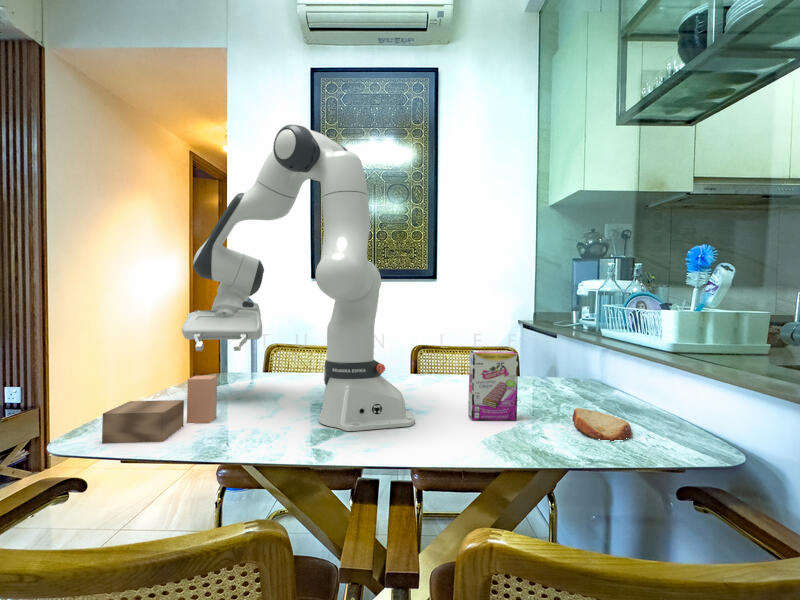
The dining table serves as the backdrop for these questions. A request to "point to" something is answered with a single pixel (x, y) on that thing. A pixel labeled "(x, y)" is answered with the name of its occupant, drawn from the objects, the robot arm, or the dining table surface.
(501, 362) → the candy bar box
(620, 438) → the slice of bread
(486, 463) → the dining table surface
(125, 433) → the walnut block
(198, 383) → the terracotta block
